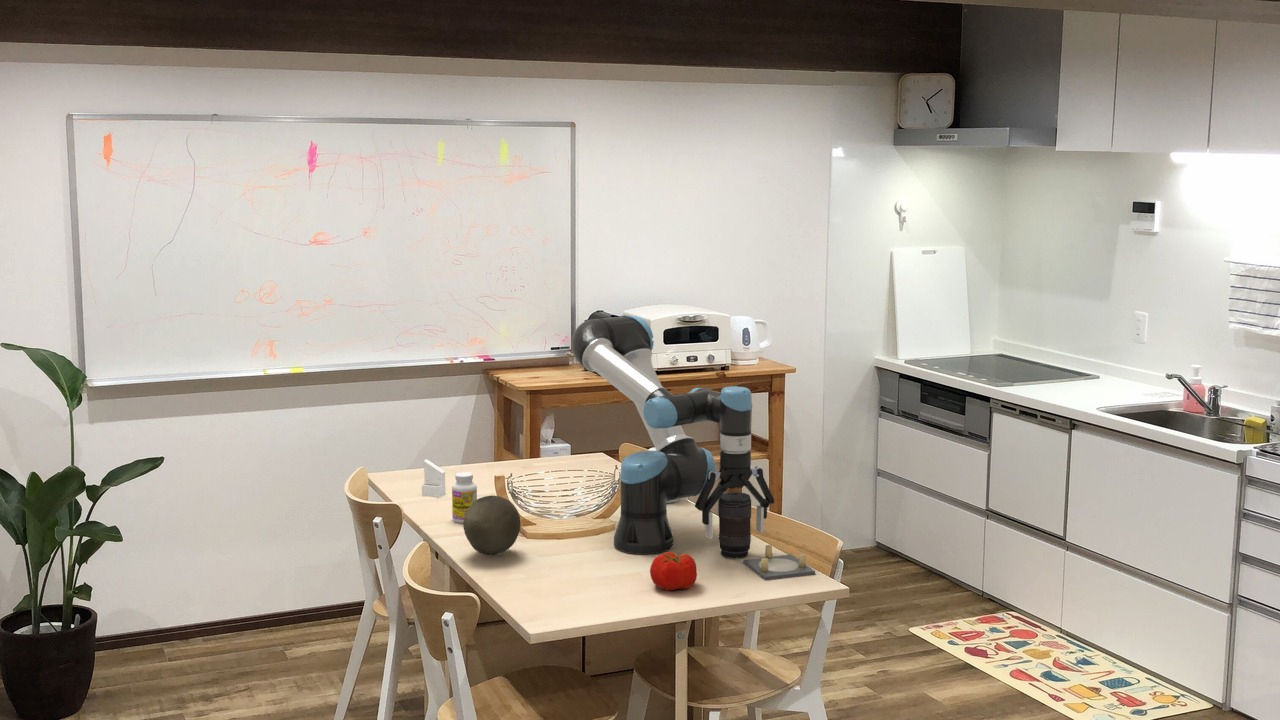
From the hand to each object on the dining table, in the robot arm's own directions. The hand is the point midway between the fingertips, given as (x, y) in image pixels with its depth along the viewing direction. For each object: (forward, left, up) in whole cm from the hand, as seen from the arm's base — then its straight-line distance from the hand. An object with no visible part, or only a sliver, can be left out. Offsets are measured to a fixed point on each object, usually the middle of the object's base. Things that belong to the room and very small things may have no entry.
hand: (734, 534), depth 304 cm
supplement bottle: (-58, +50, -5) cm, 77 cm away
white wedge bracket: (-62, +78, -6) cm, 100 cm away
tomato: (-22, -17, -6) cm, 28 cm away
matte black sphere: (-57, +18, -5) cm, 60 cm away
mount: (+6, -13, -5) cm, 15 cm away
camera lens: (0, 0, -5) cm, 5 cm away
